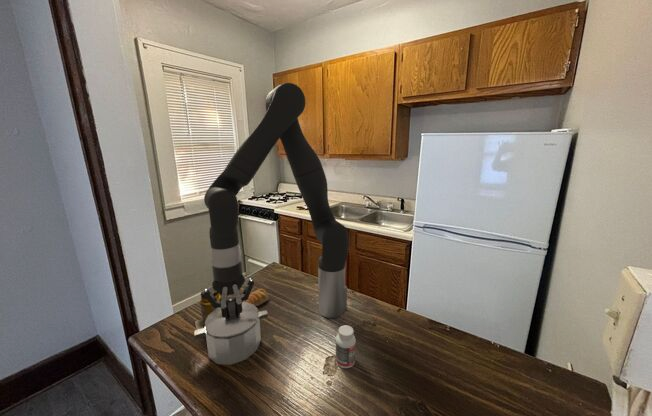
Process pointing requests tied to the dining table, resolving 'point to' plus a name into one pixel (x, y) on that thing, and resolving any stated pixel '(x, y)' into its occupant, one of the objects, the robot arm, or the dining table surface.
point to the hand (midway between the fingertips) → (232, 315)
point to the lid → (231, 319)
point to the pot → (233, 343)
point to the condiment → (206, 309)
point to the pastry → (257, 297)
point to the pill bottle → (345, 347)
